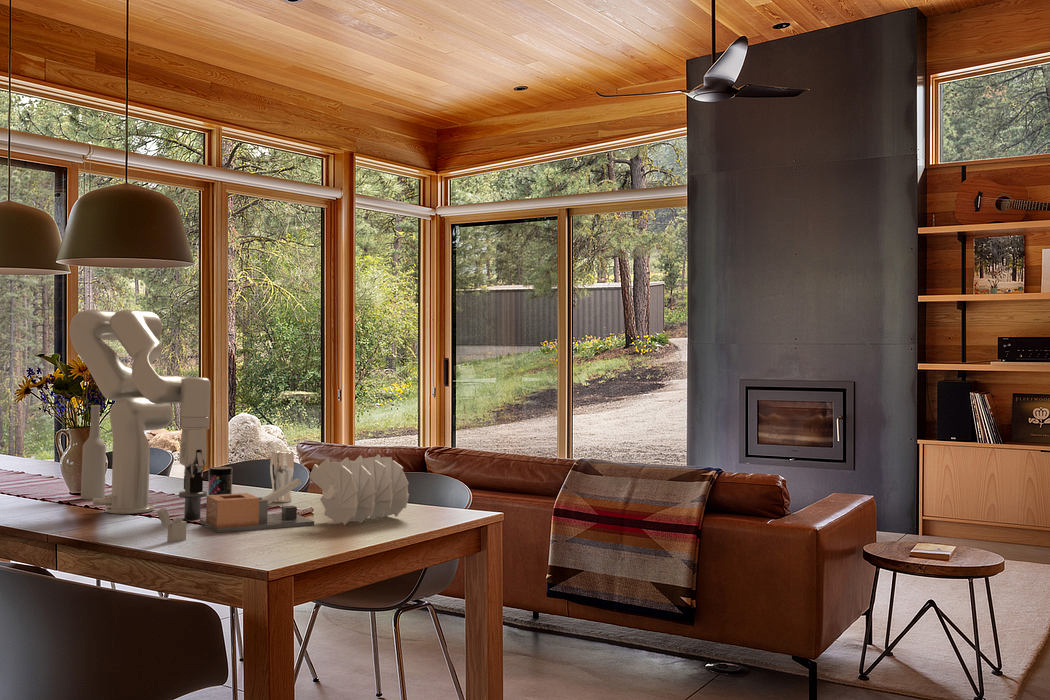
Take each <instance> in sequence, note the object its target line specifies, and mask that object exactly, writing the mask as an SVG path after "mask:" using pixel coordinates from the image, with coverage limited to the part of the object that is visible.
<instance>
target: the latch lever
mask: <svg viewBox="0 0 1050 700" xmlns="http://www.w3.org/2000/svg"><path fill="white" fill-rule="evenodd" d="M301 485H303V483H302V480H301V479H300V478H295V479H292V481H291V482H290V483H288V484H286V485H285V486H283V487H281V488H280V489H278V490H276V491H275V492H273V493H272V492H271V493H269V494H268V495H266V496H265V497H262V498H263V499H261V500H268V505H269V504H271V503H274V502H273V501H274V500H276V499H278V498H279V497H281V496H283V495H284V494H286V493H288V492H289V491H290V492H291V491H293V490H294V489H296V488H298V487H299V486H301Z"/></svg>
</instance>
